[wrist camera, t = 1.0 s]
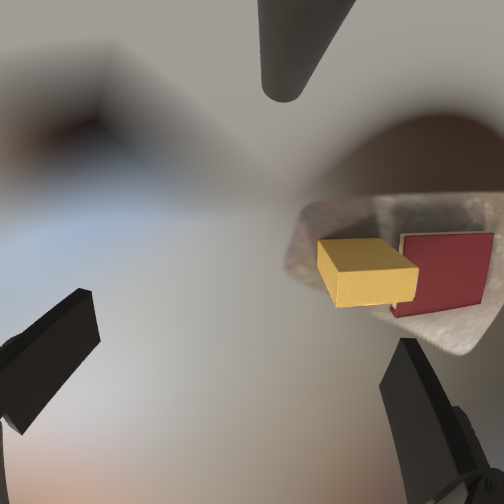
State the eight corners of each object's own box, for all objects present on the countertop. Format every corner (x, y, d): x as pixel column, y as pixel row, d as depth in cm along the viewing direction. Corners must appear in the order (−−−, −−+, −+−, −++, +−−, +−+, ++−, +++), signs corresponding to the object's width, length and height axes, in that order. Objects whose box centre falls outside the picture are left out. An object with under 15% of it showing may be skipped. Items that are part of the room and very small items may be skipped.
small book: (315, 235, 35) (338, 271, 24) (377, 234, 35) (420, 266, 24) (314, 262, 37) (335, 308, 25) (375, 260, 36) (415, 300, 25)
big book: (385, 304, 38) (395, 318, 34) (392, 228, 35) (405, 236, 31) (467, 293, 37) (480, 303, 33) (478, 226, 34) (494, 233, 30)
